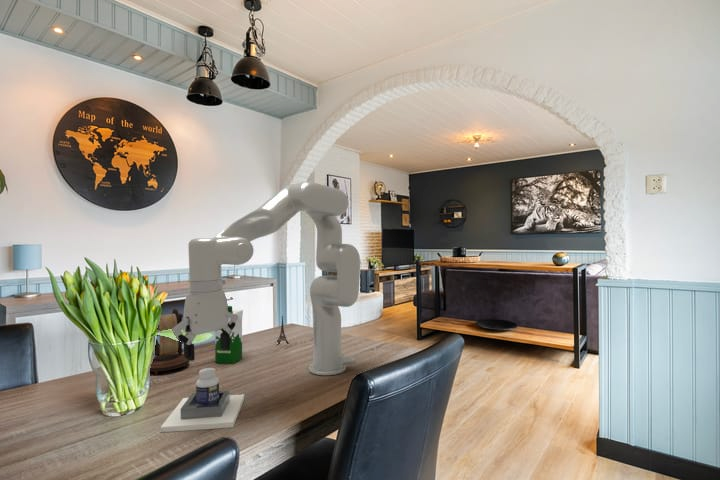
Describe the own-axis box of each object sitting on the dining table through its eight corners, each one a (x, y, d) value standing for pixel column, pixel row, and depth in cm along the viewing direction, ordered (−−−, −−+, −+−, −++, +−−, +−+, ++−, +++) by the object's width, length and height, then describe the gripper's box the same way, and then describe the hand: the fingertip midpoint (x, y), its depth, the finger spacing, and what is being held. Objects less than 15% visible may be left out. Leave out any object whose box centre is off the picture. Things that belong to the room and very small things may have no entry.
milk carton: (211, 364, 133) (211, 307, 133) (223, 356, 142) (223, 303, 142) (235, 364, 132) (235, 308, 132) (245, 356, 141) (245, 303, 141)
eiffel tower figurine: (305, 344, 160) (304, 312, 160) (290, 350, 151) (290, 317, 151) (276, 340, 167) (276, 310, 167) (261, 346, 158) (261, 314, 158)
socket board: (244, 398, 104) (244, 394, 104) (233, 427, 88) (233, 422, 88) (183, 402, 102) (183, 398, 102) (160, 432, 86) (160, 427, 86)
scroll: (150, 379, 119) (150, 316, 119) (135, 368, 129) (134, 310, 129) (196, 367, 130) (196, 309, 130) (179, 358, 140) (178, 304, 140)
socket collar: (229, 400, 100) (229, 390, 100) (221, 416, 91) (221, 406, 91) (192, 402, 99) (192, 393, 99) (180, 419, 90) (180, 408, 90)
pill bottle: (210, 414, 92) (210, 374, 92) (191, 412, 93) (191, 373, 93) (223, 405, 97) (223, 367, 97) (204, 403, 98) (204, 366, 98)
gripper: (227, 281, 104) (229, 343, 104) (164, 290, 90) (166, 361, 91) (244, 283, 100) (246, 347, 100) (179, 293, 86) (182, 367, 86)
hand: (208, 354), depth 95 cm, fingers open, 9 cm apart
